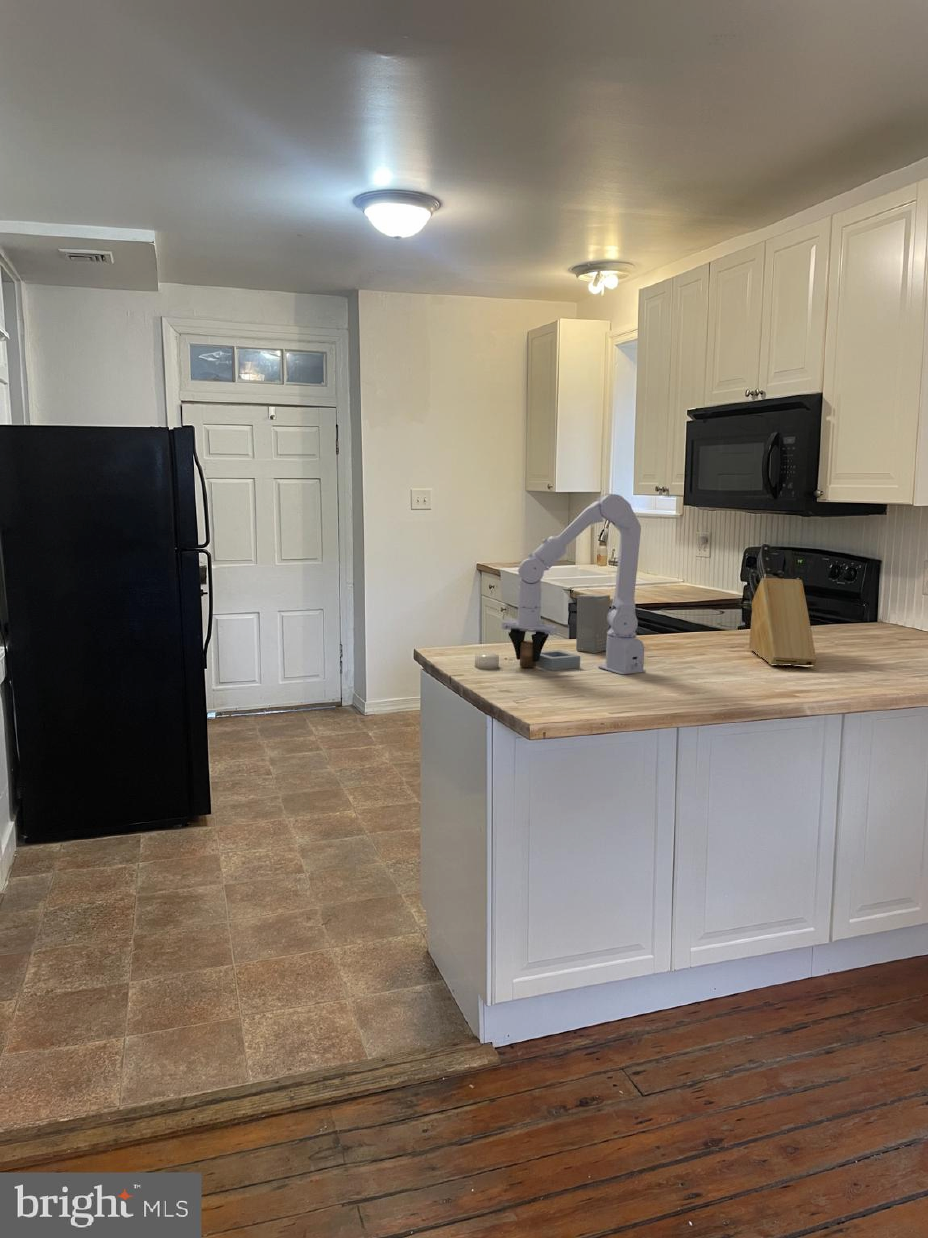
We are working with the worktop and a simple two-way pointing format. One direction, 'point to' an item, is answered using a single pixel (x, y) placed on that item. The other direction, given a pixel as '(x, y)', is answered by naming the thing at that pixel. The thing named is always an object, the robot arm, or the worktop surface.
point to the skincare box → (592, 622)
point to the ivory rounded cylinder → (486, 660)
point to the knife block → (779, 614)
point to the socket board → (558, 660)
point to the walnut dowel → (526, 654)
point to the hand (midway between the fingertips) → (527, 660)
